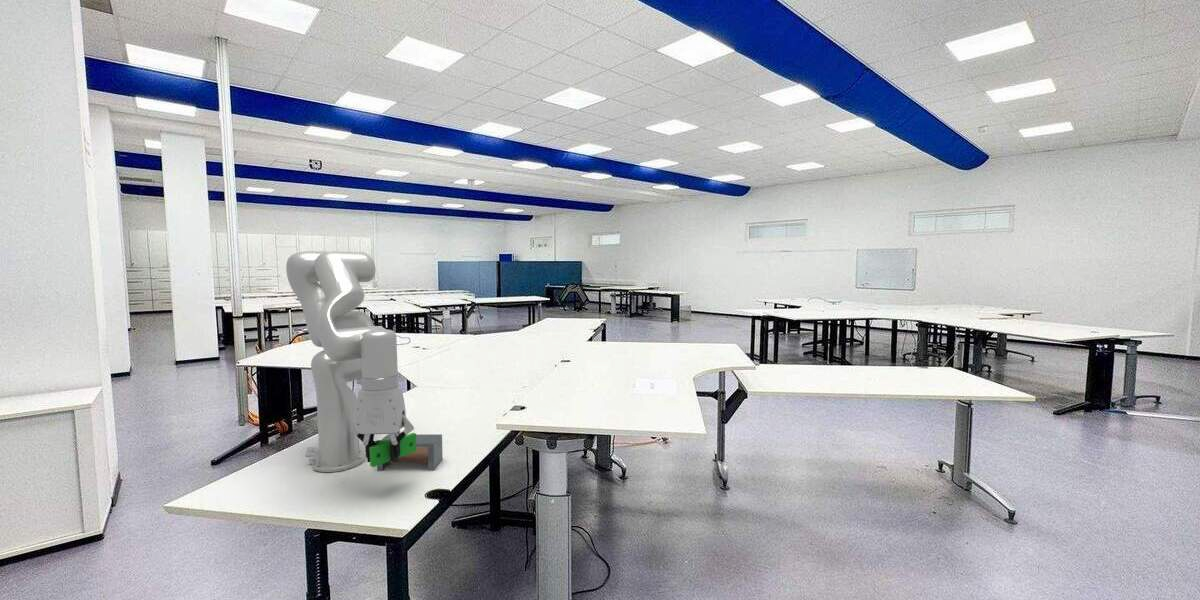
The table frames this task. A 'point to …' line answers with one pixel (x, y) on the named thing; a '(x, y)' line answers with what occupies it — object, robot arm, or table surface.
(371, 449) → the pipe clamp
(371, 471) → the table surface
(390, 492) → the table surface
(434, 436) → the grey sleeve
